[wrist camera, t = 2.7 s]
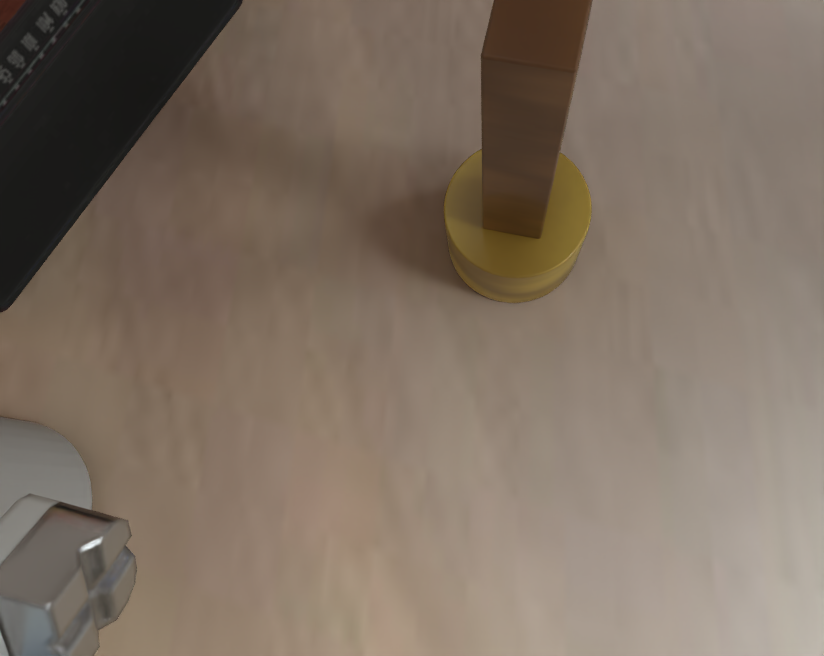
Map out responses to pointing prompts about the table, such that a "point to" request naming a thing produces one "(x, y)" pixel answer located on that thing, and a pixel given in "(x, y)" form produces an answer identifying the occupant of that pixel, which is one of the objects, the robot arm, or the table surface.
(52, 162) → the radio
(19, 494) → the beverage can
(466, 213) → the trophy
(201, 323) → the table surface
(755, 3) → the table surface
